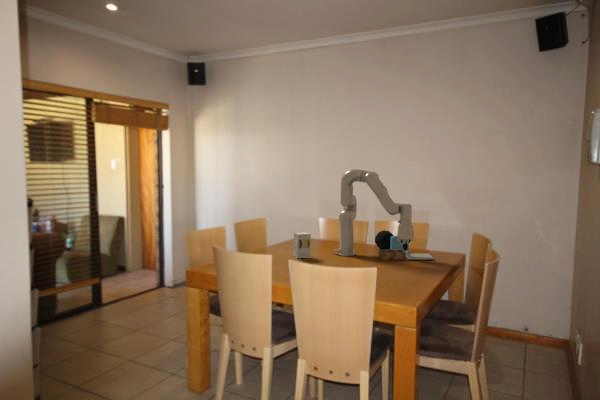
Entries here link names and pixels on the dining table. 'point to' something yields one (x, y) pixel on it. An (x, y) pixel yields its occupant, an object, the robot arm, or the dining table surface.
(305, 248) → the supplement box
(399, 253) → the box
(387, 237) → the decorative orb
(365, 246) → the dining table surface
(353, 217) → the robot arm
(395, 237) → the data package
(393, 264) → the dining table surface
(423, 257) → the cover plate
